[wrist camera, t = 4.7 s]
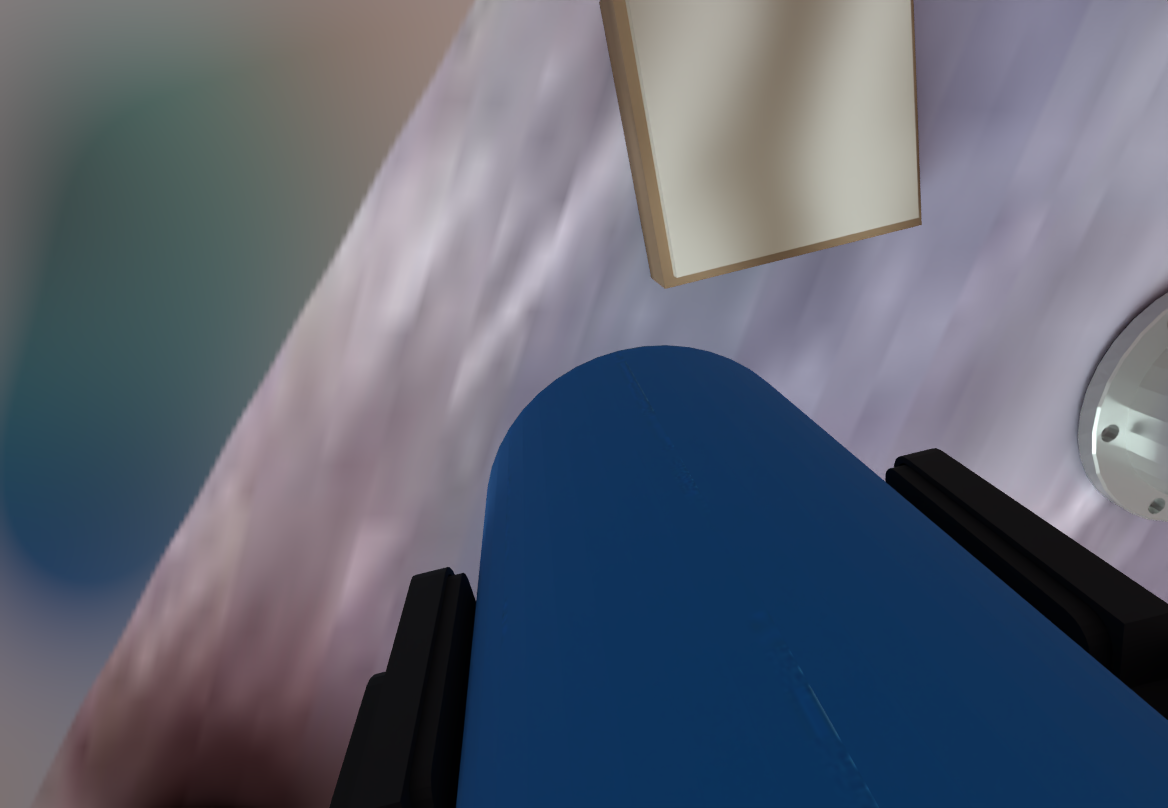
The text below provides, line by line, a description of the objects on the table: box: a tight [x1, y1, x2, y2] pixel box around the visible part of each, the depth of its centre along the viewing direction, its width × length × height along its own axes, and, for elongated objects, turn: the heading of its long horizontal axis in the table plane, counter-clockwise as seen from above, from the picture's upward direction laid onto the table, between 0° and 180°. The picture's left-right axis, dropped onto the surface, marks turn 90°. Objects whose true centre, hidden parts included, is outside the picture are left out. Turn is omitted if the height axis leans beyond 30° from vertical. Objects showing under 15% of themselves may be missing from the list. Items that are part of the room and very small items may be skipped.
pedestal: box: [599, 0, 922, 289], centre depth 24 cm, size 10×10×3 cm
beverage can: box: [456, 345, 1168, 808], centre depth 8 cm, size 6×6×12 cm
